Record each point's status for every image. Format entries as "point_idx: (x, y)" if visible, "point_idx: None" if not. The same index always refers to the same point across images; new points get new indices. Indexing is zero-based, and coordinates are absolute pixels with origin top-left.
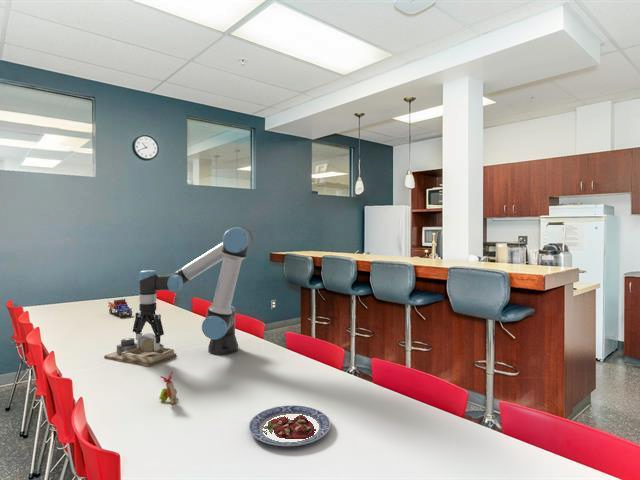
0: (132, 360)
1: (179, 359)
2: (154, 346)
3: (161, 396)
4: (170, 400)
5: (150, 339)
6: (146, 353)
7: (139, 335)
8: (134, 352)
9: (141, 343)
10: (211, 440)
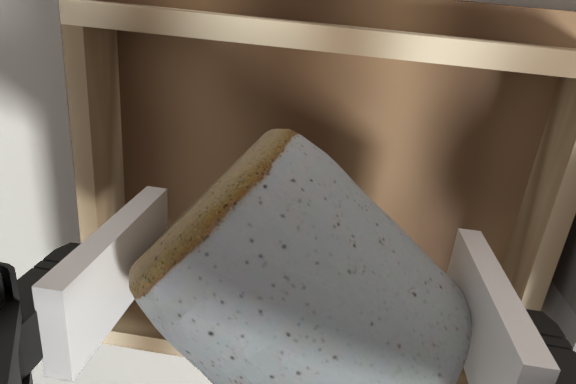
0: (373, 5)
1: (26, 243)
2: (136, 209)
3: None
4: None
5: (152, 252)
6: None
7: (500, 370)
8: (522, 226)
9: (310, 168)
10: None
